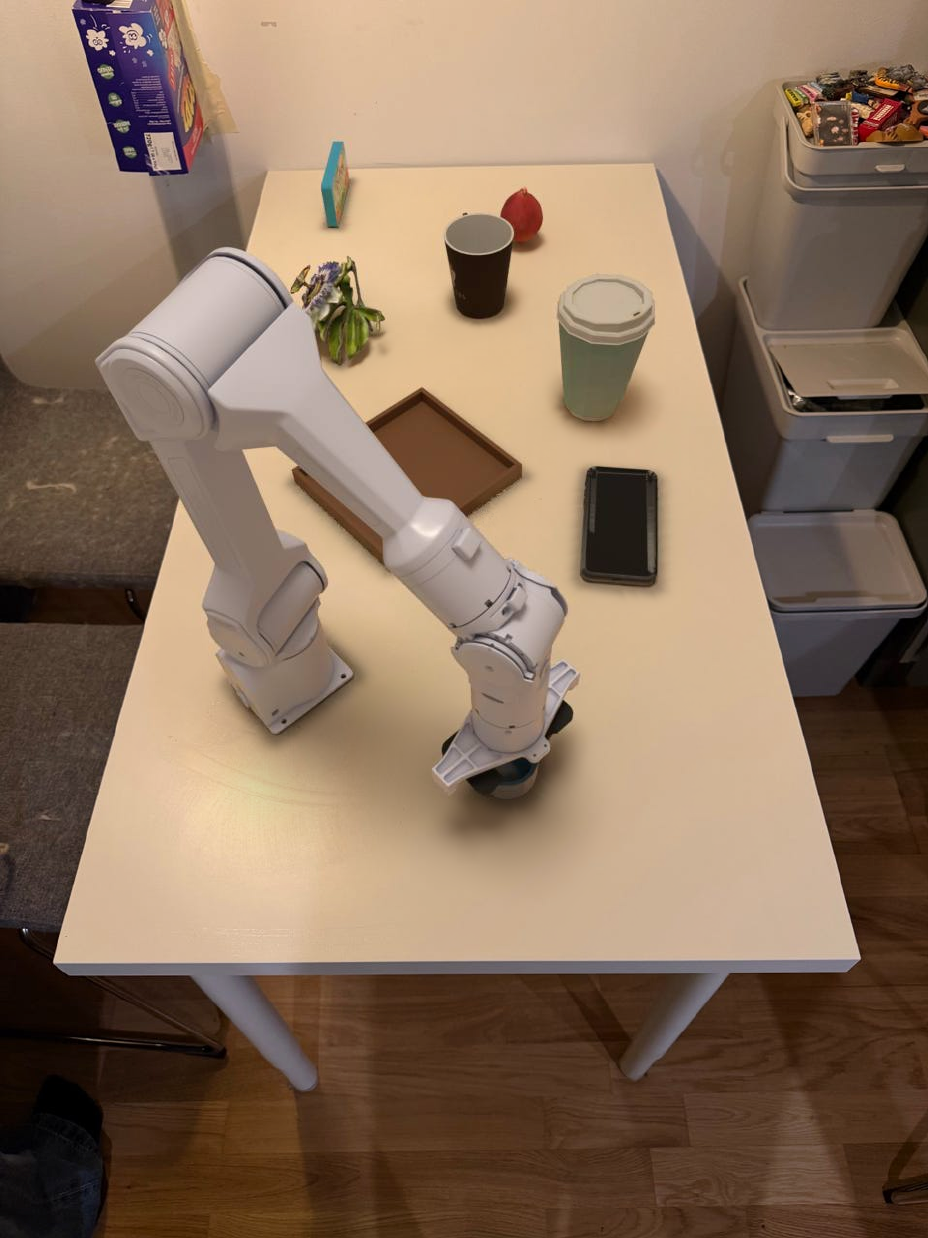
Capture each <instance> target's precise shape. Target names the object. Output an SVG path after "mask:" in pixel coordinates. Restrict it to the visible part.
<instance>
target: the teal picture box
mask: <svg viewBox="0 0 928 1238" xmlns="http://www.w3.org/2000/svg"><path fill="white" fill-rule="evenodd" d="M330 147H331V148H330V151H329V155H328V158H327V162H326V165H325V170H324V173H323V177H322V180H321V183H320V191H321V197H322V203H323V208H324V214H325V219H326V224H327V227H328V228H329V227H331V228H338V227H339V226H340V223H341V218H342V214H343V210H344V206H345V202H346V199H347V193H348V190H349V185H350V175H349V169H348V161H347V155H346V149H345V142H344V141H332V143H331V146H330Z"/></svg>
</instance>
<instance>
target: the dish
mask: <svg viewBox="0 0 928 1238" xmlns="http://www.w3.org/2000/svg"><path fill="white" fill-rule="evenodd" d="M495 768H496V769H497V770H498V771H499V772H500V773H501V774H502V776H503V777H504V778H505V780H504V781H503V782H502V783H501V784H500V785H499V786H497V787H496V788H495V790H494V791H493V792H492V793H491V794H490V795H491V796H493V797H494V798H497V799H500V800H501V799H502V800H513V799H517V798H521V797H522V796H524V795H525V794H526V793H528V792H529V791H530V790H531V789H532V788H533V786H534V784H535V782H536V780H537V776H538V770H539V761H538V762H536V763H531V762H530V761H529V760H527V759H526V758H525V757H520V758H517V759H515V760H512V761H510V762H507V763H505V764H502V765H499V766H497V767H495Z"/></svg>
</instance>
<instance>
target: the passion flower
mask: <svg viewBox="0 0 928 1238" xmlns="http://www.w3.org/2000/svg"><path fill="white" fill-rule="evenodd" d="M310 270H311V265H310V264H308V265H307V266H306V267H304V268H303V269H302V270H301V272H300V273H299V275H298V276H296V277H295V279H294V281H293V284H292V285H291V287H290V291H289V293H290V295H293V294H295V293H298V292H300V289H302V287H306V289H305V292H304V293H303V294H302V295H301V301H302V303H303V304H302V307H300V308H301V309H302V310H303V311H305V312H306V313H307V314H308V315H309V317H310V318H311V320H312V322H313V326H314V331H315V333H317V332H318V331H319V337H320V340H321V342H322V343H324V344H325V343H326V335H327V333H328V336H327V344H328V345H327V346H328V349H329V350H328V353H329V355H330V357H331V359H332V360H333V361H334V362H337V363H338V365H341V363H342V362H341V356H342V352H343V348H344V346H345V353H346V358H347V360H348V361H349V362H350V361H352V360H353V359H354V358H355V357H356V356H357V354H358V352H360V351H362V350H363V349H364V348H365V346H366V345H367V344H368V340H369V335H370V330H371V331H372V332H373V331H374V329H373V326H372V323H371V322H373V323H376V324H375V327H376V332H377V333H380V331H381V322H384V321H385V320H386V317H385V315H383V314H382V311H381V310H379V309H376V308H374V307H373V308H372V307H368V306H366V305H365V304H364V301H363V299H362V295H361V288H360V285H359V280H358V279H359V278H358V271H357V266H356V262H355V261H354V260H353V259H352V257H350V255H347V256H346V262H344V261H343V262H341V264H340V262H338V261H334V260H333V261H331V260H330V261H326V262H323V263H322V266H321V265H318V271H317V273H314V274H313V275H312V276H311V277H310V283H308V282H307V281H306V277H307V276H308V273H309V271H310ZM351 272H352V273H353V276H354V282H355V288H356V294H357V301H356V304H354V299H353V298H354V297H353V296H354V287H352V286H351V277H350V275H348V274H349V273H351ZM341 307H344V308H343V309H342V310H341V313H340V314H338V315H336V316H335V317H334V318H333V315H334V314H335V312H336V311H337V310H338V309H339V308H341ZM332 318H333V319H332ZM331 319H332V320H331ZM344 331H345V342H344V341H343V338H344V337H343V336H344ZM343 342H344V343H343Z"/></svg>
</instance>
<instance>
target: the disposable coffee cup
mask: <svg viewBox="0 0 928 1238" xmlns="http://www.w3.org/2000/svg"><path fill="white" fill-rule="evenodd" d="M556 320H557V321H558V333H559V334H558V335H559V336H558V337H559V347H560V348H559V349H560V350H559V351H560V364H561V379H562V380H561V381H562V393H563V396H562V397H563V402H564V404H565V407H566V408H567V410H568V412H570V414H571V415H572V416H574V417H576V418H578V419H580V420H582V421H588V422H589V421H590V422H600V421H602V420H607V419H609V418H610V417H611V416H612V415H613V414H614V413H615V412H616V411H617V410H618V408H619V407H620V406H621V405H622V401H623V400H624V399H623V398H624V396H625V395H626V391H627V389H628V386H629V383H630V381H631V378H632V375H633V373H634V371H635V368H636V365H637V363H638V360H639V357H640V355H641V352H642V350H643V347H644V344H645V343H646V340H647V337H648V334H649V332H650V330H651V329H652V328H653V327H654V326H655V325H656V302H655V299H654V298H653V292H652V291H651V290H650V289H649V288H648V287H647V286H646V285H645V284H644V283H642V282H641V281H640V280H638V279H635V278H632V277H629V276H627V275H626V276H625V275H623V274H619V273H618V274H616V273H615V274H612V273H595V274H592V275H589V276H586V277H582V278H579V279H576V281H574V282H572V283H571V284H570V285H569V286H568V287H567V288H566V289H565V290H563V291H562V292H561V293H560V294H559V298H558V301H557V306H556Z"/></svg>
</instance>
